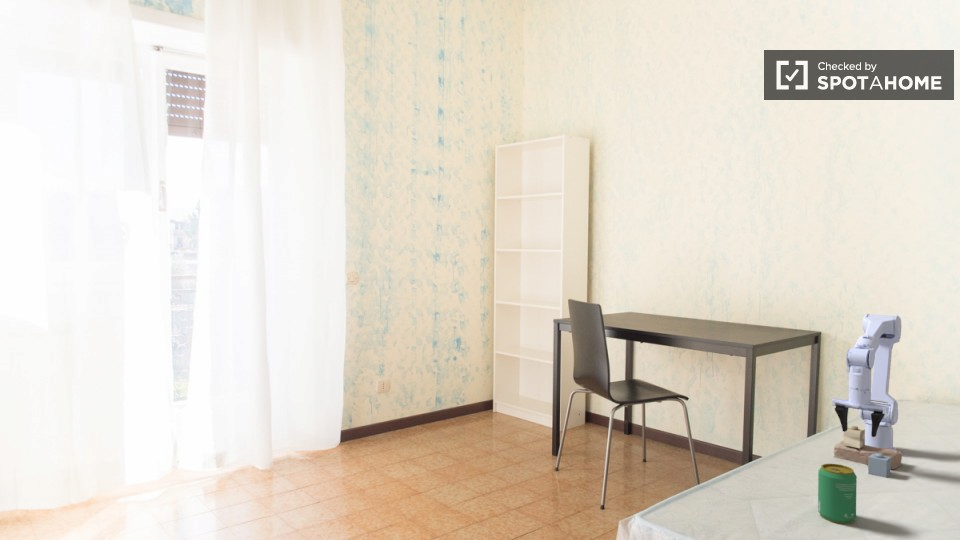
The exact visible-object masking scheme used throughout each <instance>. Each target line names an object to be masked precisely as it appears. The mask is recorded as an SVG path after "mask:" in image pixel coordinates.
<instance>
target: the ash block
mask: <svg viewBox="0 0 960 540" xmlns="http://www.w3.org/2000/svg"><path fill="white" fill-rule="evenodd" d="M843 441H844V445H846V446H851V447H856V448H861V447H863V446H865V428H860V427H858V426H856V425H850V426H848V428H847V431H845V432H844V431H843Z"/></svg>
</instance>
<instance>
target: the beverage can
mask: <svg viewBox="0 0 960 540" xmlns="http://www.w3.org/2000/svg"><path fill="white" fill-rule="evenodd" d="M817 477H818V479H817V481H818V484H817V486H818V487H817V511H818V513H819V516H820V517H821V518H822V519H824V520H826V521H828V522H831V523H835V524H840V525H841V524H842V525H848V524H852V523H854V521H855V520H856V518H857V483H858V482H857V481H858V479H857V475H856V473H855V471H854V469H853V468H852V467H849V466H847V465H842V464H838V463H823V464H821V466H820V468H819V469H818V475H817Z"/></svg>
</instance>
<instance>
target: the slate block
mask: <svg viewBox="0 0 960 540" xmlns="http://www.w3.org/2000/svg"><path fill="white" fill-rule="evenodd" d="M890 465H891V457H888V456H884V455H883V454H881V453H876V454H871V455H870V456H869V457H868V466H867V469H868V470H867V471H868V472H867V474H868V475H872V476H877V477H882V478H884V479H886V478H888V477H889V476H890V475H891V469H890Z"/></svg>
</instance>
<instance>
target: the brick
mask: <svg viewBox="0 0 960 540" xmlns="http://www.w3.org/2000/svg"><path fill="white" fill-rule="evenodd" d="M876 453H881V454H883V455H884V456H888V457H891V465H890V470H894V469H897V468H899V466H901V464H902V461H903V459H902V458H903V457H902V451H900V450H891V449H886V448H876V447H872V446H868V445H865V446H863V447H861V448H856V447H851V446H846V445H844V440H841V441H839V442H838V443H836V444H834V446H833V458H836V459H840V460H845V461H849V462H853V463H858V464H862V465H868V457H869V456H870V455H871V454H876Z"/></svg>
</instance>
